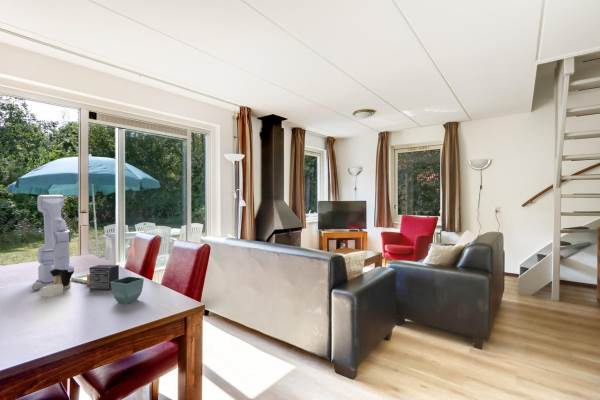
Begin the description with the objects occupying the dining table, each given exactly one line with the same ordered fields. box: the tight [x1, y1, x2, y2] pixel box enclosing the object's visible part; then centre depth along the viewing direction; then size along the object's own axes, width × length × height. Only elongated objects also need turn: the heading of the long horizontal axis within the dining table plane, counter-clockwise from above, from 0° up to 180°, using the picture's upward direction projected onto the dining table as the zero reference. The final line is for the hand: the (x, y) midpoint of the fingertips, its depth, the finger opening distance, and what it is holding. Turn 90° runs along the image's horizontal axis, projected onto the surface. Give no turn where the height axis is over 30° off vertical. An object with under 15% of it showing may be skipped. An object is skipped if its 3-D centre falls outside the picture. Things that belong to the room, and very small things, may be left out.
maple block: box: [53, 275, 72, 290], centre depth 139 cm, size 4×4×6 cm
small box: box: [89, 264, 120, 291], centre depth 140 cm, size 11×6×10 cm, turn 84°
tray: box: [70, 272, 90, 284], centre depth 154 cm, size 12×12×2 cm
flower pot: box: [111, 276, 145, 305], centre depth 122 cm, size 9×9×9 cm
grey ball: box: [31, 281, 43, 291], centre depth 137 cm, size 4×4×4 cm
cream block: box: [41, 283, 64, 298], centre depth 130 cm, size 5×5×4 cm
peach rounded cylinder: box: [86, 272, 90, 286], centre depth 146 cm, size 4×4×5 cm
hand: (62, 285), depth 139 cm, fingers closed on maple block, 4 cm apart
